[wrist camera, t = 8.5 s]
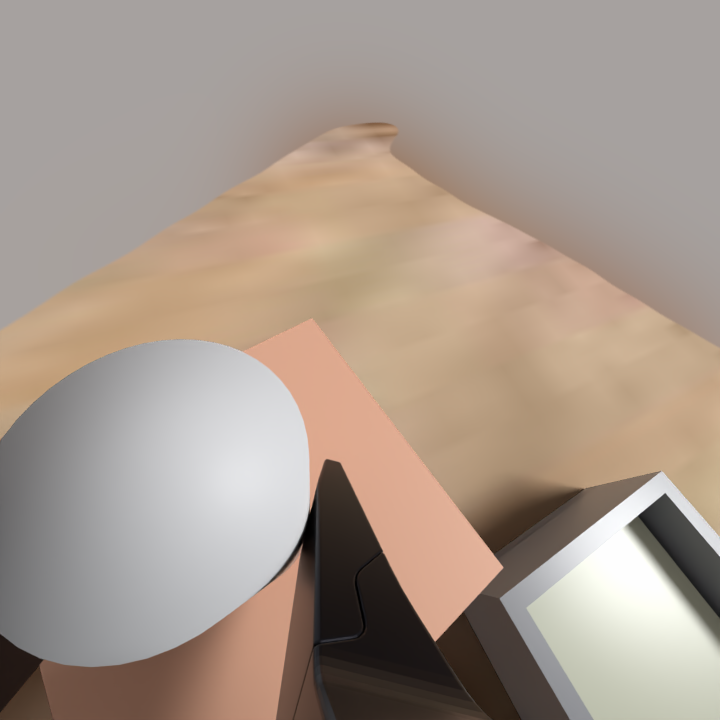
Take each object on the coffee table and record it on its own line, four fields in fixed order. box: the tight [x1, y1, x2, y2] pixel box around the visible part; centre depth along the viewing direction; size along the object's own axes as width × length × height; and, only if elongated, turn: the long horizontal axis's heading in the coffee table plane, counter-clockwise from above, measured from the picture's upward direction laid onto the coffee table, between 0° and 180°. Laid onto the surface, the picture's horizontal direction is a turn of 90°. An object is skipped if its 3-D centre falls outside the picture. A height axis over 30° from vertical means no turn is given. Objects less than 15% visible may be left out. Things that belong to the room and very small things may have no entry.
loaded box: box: [464, 471, 720, 720], centre depth 14 cm, size 10×10×5 cm
